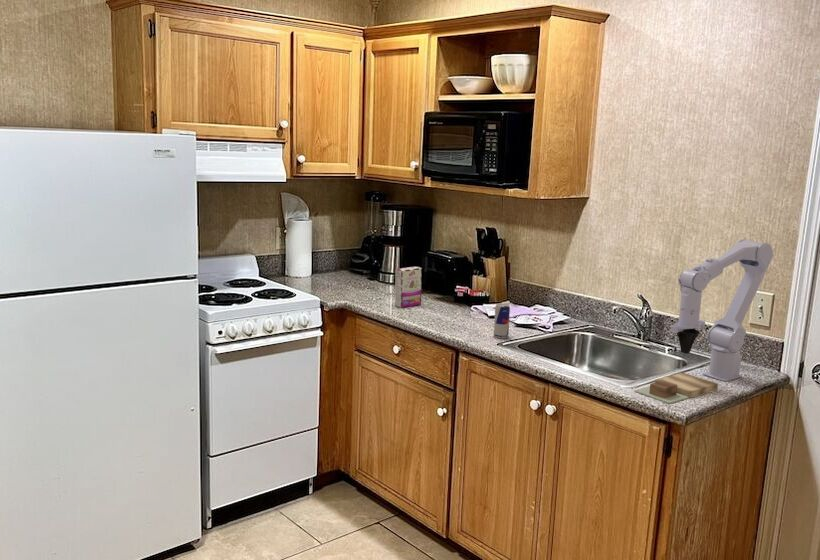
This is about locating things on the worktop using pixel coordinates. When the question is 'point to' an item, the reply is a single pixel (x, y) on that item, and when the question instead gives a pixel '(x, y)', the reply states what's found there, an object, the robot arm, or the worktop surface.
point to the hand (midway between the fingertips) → (685, 352)
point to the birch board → (690, 384)
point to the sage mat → (667, 400)
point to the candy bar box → (408, 287)
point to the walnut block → (663, 389)
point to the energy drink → (501, 321)
